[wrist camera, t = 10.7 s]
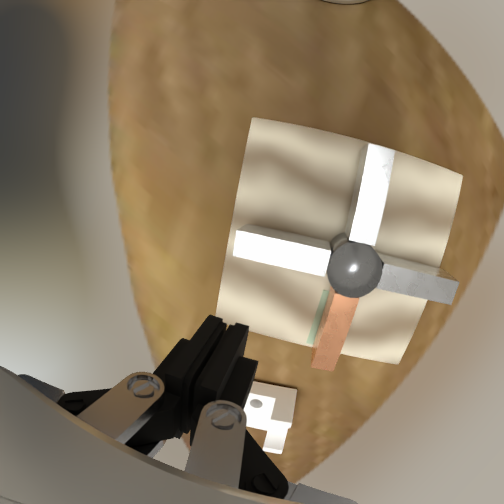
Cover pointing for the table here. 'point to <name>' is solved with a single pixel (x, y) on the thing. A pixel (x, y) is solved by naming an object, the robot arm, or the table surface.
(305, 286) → the base plate
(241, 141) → the table surface
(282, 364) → the table surface
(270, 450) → the bracket
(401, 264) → the capstan
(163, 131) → the table surface
